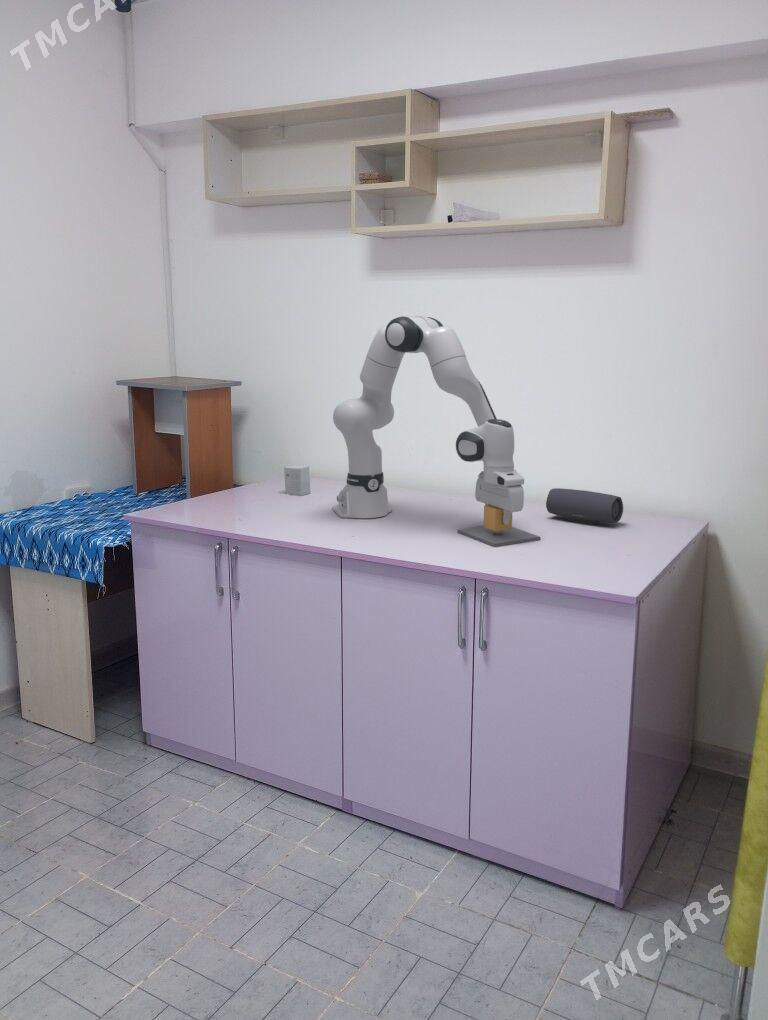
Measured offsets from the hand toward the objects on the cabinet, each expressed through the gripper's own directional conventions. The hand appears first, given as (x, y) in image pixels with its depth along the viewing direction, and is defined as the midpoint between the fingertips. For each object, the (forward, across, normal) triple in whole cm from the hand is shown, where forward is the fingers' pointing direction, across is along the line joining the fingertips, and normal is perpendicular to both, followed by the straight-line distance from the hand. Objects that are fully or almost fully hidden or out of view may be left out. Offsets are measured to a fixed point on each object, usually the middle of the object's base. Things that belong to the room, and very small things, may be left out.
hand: (497, 521), depth 246 cm
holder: (+5, 0, 0) cm, 5 cm away
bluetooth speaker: (+5, -2, +34) cm, 34 cm away
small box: (+5, -93, -28) cm, 97 cm away
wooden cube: (+2, 0, 0) cm, 2 cm away
